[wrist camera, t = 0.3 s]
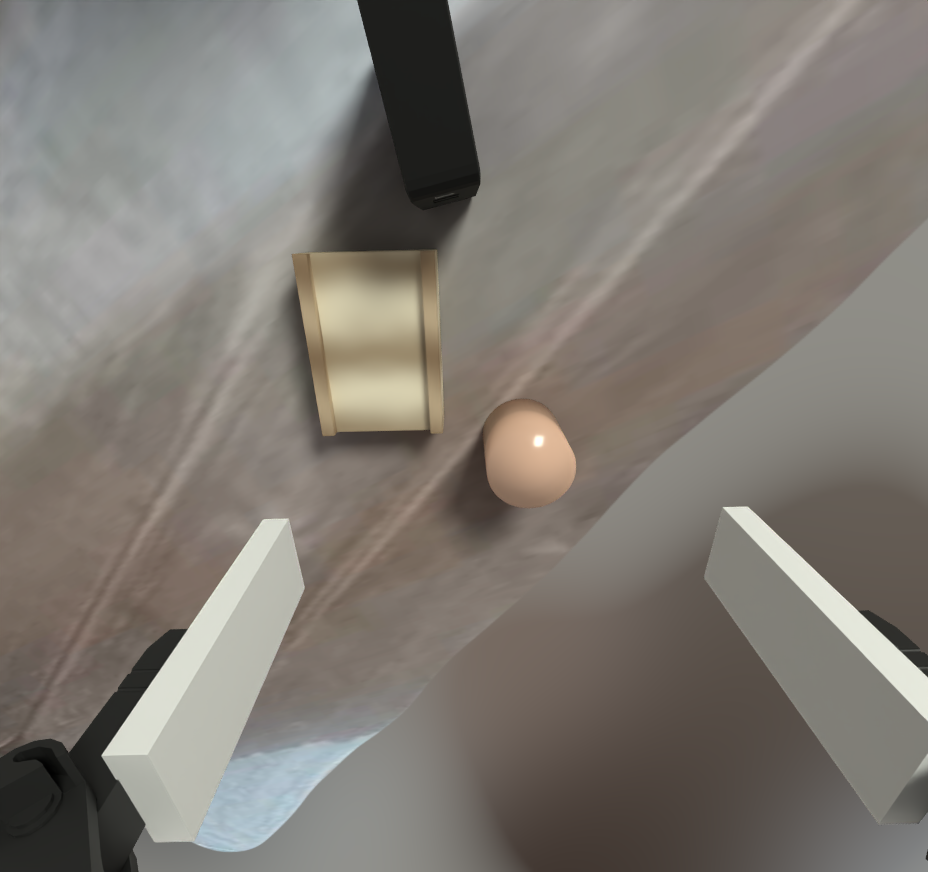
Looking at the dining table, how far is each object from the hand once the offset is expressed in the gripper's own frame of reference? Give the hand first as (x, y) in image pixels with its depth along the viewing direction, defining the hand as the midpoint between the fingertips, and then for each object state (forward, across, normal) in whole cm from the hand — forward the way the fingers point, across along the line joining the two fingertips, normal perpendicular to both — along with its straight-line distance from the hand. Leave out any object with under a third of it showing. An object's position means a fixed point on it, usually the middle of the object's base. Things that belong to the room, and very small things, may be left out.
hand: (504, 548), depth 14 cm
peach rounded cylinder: (+26, +4, -8) cm, 28 cm away
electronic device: (+27, -3, +16) cm, 31 cm away
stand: (+26, -8, +1) cm, 27 cm away
